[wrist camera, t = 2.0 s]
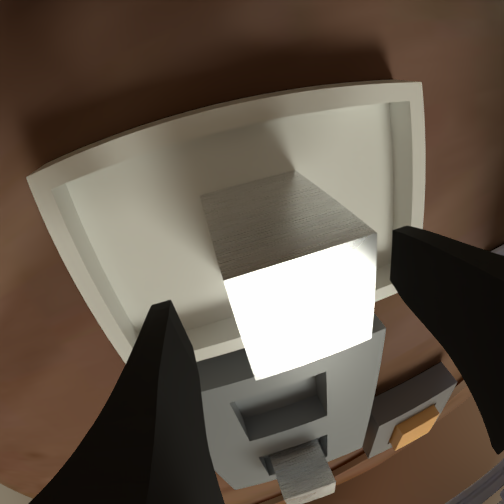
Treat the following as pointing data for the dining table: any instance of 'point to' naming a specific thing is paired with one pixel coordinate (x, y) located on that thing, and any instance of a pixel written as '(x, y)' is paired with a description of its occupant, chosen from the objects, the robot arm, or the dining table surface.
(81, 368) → the dining table surface
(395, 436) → the button
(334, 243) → the steel block
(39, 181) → the tray
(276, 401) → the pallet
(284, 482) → the block
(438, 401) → the button housing
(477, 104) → the dining table surface
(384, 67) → the dining table surface
